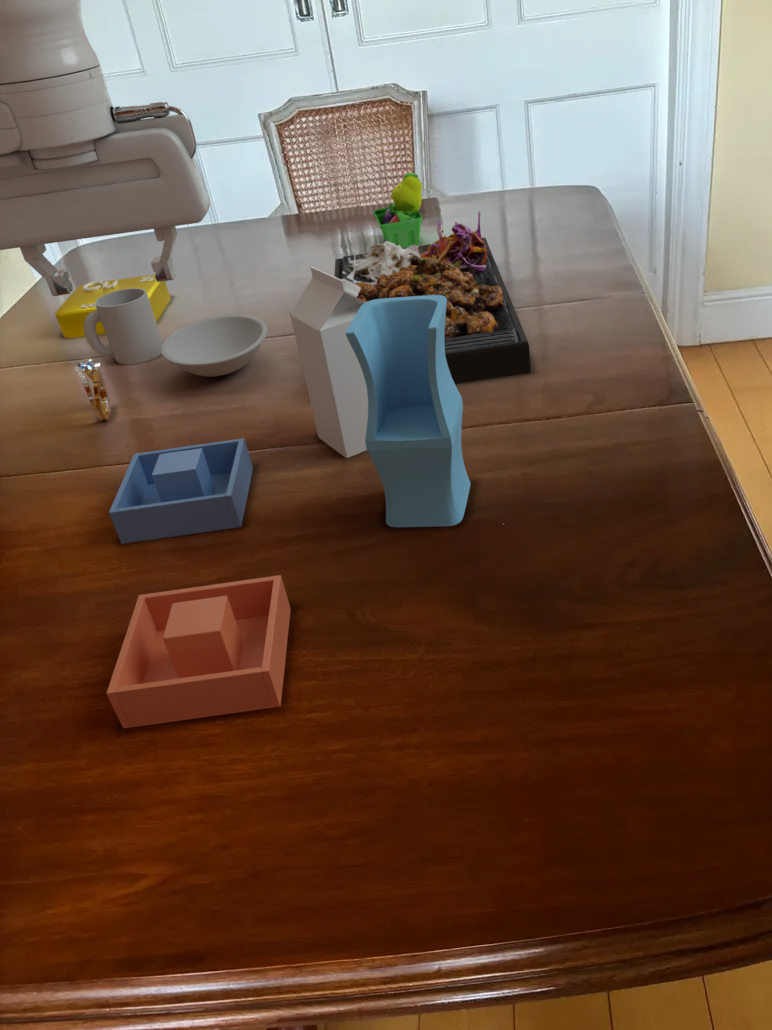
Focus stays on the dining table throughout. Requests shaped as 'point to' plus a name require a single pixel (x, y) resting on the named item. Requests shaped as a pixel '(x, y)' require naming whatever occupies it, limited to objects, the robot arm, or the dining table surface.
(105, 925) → the dining table surface
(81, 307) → the element tile
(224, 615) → the terracotta block
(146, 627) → the terracotta tray
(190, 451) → the blue-grey block
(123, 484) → the blue-grey tray
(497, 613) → the dining table surface
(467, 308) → the food platter
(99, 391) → the ring
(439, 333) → the blue wingback chair
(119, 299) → the cup
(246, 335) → the dish
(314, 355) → the milk carton
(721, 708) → the dining table surface
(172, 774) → the dining table surface
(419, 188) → the fruit basket
